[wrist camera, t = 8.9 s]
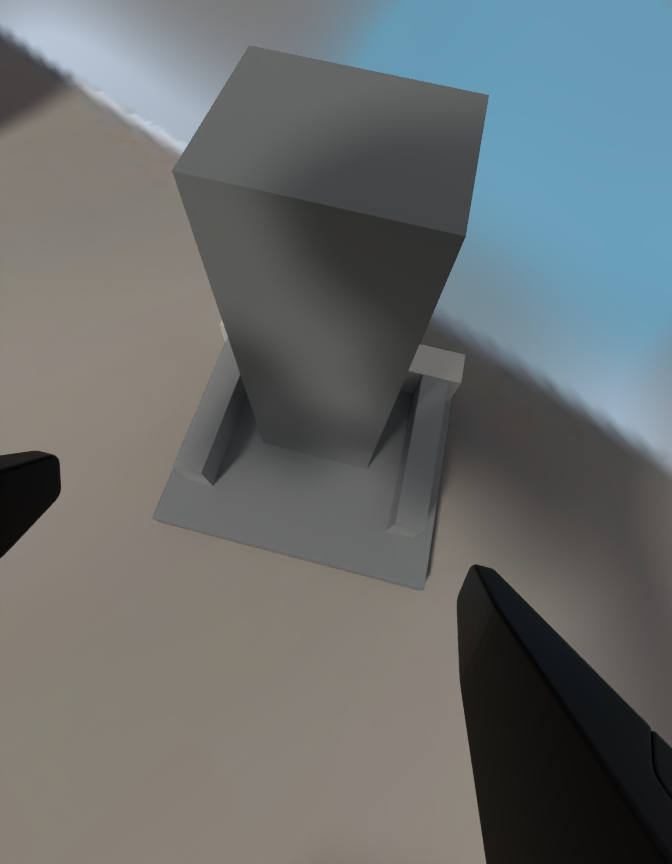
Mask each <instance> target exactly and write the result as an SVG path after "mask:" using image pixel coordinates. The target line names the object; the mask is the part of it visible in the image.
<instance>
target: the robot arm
mask: <svg viewBox="0 0 672 864" xmlns="http://www.w3.org/2000/svg"><path fill="white" fill-rule="evenodd" d="M60 491H61V479H60V463H59V459H58V458H57V457H56V456H55V455H53V454H49V453H45V452H41V451H29V452H21V453H14V454H7V455H0V558H1V557H2V556H3V555H4V554H5V553H6V552H7V551H8V550H9V549H10V548H11V547H12V546H13V545H14V544H15V543H16V542H17V541H18V540H19V539H20V538H21V537H22V536H23V535H24V534H25V533H26V531H27V530H28V529H29V528H30V527H31V526H32V525H33V524H34V523H35V522H36V521H37V520H38V519H39V518H40V517H41V516H42V515H43V513H44V512H45V511H46V510H47V509H48V508H49V507H50V506H51V505H52V504H53V503H54V502H55V501H56V499H57V498H58V496H59V494H60ZM457 625H458V652H459V674H460V685H461V694H462V700H463V707H464V714H465V721H466V728H467V735H468V741H469V748H470V755H471V762H472V769H473V775H474V782H475V789H476V796H477V803H478V810H479V816H480V823H481V830H482V837H483V844H484V851H485V857H486V864H672V748H671V747H670V746H669V745H668V744H667V743H666V742H665V741H664V740H663V739H662V738H661V737H660V736H659V735H658V734H657V733H656V732H654V731H651V728H650V726H649V725H648V724H647V723H646V722H645V721H644V720H643V719H642V718H641V717H640V716H639V715H638V714H637V713H636V712H635V711H634V710H633V709H632V708H631V707H630V706H629V705H628V704H627V703H626V702H625V701H624V700H623V699H622V698H621V697H620V696H619V695H618V694H617V693H616V692H615V691H614V690H613V689H612V688H611V687H610V686H609V685H608V684H607V683H606V682H605V681H604V680H603V679H602V678H601V677H600V676H599V675H598V674H597V673H596V672H595V671H594V670H593V669H592V668H591V667H590V666H589V664H588V663H587V662H586V661H585V660H584V659H583V658H582V657H581V656H580V655H579V654H578V653H577V652H576V651H575V650H574V649H573V648H572V647H571V646H570V645H569V644H568V643H567V642H566V641H565V640H564V639H563V638H562V637H561V636H560V635H559V634H558V633H557V632H556V631H555V630H554V629H553V628H552V627H551V626H550V625H549V624H548V623H547V622H546V621H545V620H544V619H543V618H542V617H541V616H540V615H539V614H538V613H537V612H536V611H535V610H534V609H533V608H532V607H531V606H530V605H529V604H528V603H527V602H526V601H525V600H524V599H523V598H522V597H521V596H520V595H519V594H518V593H517V592H516V591H515V590H514V589H513V588H512V587H511V586H510V585H509V584H508V583H507V582H506V581H505V580H504V579H503V578H502V577H501V576H500V575H499V574H498V573H497V572H496V571H495V570H494V569H492V568H488V567H484V566H480V565H476V564H475V565H473V566H471V568H470V569H469V571H468V573H467V576H466V578H465V580H464V583H463V585H462V587H461V590H460V592H459V595H458V599H457Z"/></svg>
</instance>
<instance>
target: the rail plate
mask: <svg viewBox="0 0 672 864" xmlns="http://www.w3.org/2000/svg"><path fill="white" fill-rule="evenodd" d="M219 326H220V329H221V332H222V335H223V337H224V340H225V345H224V347H223V349H222V352H221V354H220V356H219V359H218V361H217V363H216V366H215V368H214V371H213V373H212V375H211V378H210V380H209V382H208V385H207V387H206V389H205V392H204V394H203V396H202V399H201V401H200V403H199V406H198V408H197V410H196V413H195V415H194V417H193V420H192V422H191V424H190V427H189V429H188V432H187V434H186V436H185V439H184V441H183V443H182V446H181V448H180V450H179V453H178V455H177V457H176V460H175V462H174V464H173V467H174V468H173V470H172V473H171V475H170V477H169V480H168V482H167V484H166V487H165V489H164V491H163V494H162V496H161V498H160V501H159V503H158V506H157V508H156V510H155V513H154V515H153V517H152V519H154V520H157V521H159V522H163V523H166V524H170V525H174V526H178V527H181V528H185V529H189V530H193V531H197V532H200V533H204V534H208V535H212V536H216V537H219V538H223V539H227V540H231V541H235V542H238V543H242V544H246V545H250V546H254V547H257V548H261V549H265V550H269V551H272V552H276V553H280V554H284V555H288V556H291V557H295V558H299V559H303V560H307V561H310V562H314V563H318V564H322V565H326V566H329V567H333V568H337V569H341V570H345V571H348V572H352V573H356V574H360V575H363V576H367V577H371V578H375V579H379V580H382V581H386V582H390V583H394V584H398V585H401V586H405V587H409V588H413V589H417V590H424V587H425V580H426V573H427V567H428V560H429V553H430V546H431V540H432V533H433V526H434V519H435V513H436V506H437V499H438V492H439V486H440V479H441V472H442V465H443V459H444V452H445V445H446V438H447V432H448V425H449V418H450V411H451V405H452V398H453V395H454V393H455V392H456V390H457V389H458V388H459V386H460V385H461V383H462V376H463V369H464V362H465V355H464V354H460V353H456V352H452V351H448V350H443V349H439V348H435V347H431V346H426V345H422V344H420V345H419V347H418V349H417V352H416V354H415V356H414V359H413V361H412V363H411V366H410V368H409V370H408V373H407V375H406V377H405V380H404V382H403V384H402V387H401V389H400V391H399V394H398V396H397V399H396V401H395V403H394V406H393V408H392V410H391V413H390V415H389V417H388V420H387V422H386V424H385V427H384V429H383V431H382V434H381V436H380V438H379V441H378V443H377V446H376V448H375V450H374V453H373V455H372V457H371V460H370V462H369V464H368V467H367V469H364V468H360V467H356V466H352V465H348V464H345V463H341V462H337V461H333V460H329V459H325V458H321V457H317V456H313V455H309V454H305V453H301V452H297V451H293V450H289V449H285V448H281V447H277V446H273V445H269V444H265V443H263V440H262V437H261V434H260V431H259V428H258V425H257V422H256V419H255V417H254V414H253V411H252V408H251V405H250V402H249V399H248V396H247V393H246V390H245V387H244V384H243V381H242V378H241V375H240V372H239V369H238V366H237V363H236V360H235V357H234V354H233V351H232V348H231V345H230V342H229V339H228V336H227V333H226V330H225V327H224V324H223V321H222V320H221V323H220V325H219Z"/></svg>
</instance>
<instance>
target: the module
mask: <svg viewBox="0 0 672 864" xmlns="http://www.w3.org/2000/svg"><path fill="white" fill-rule="evenodd" d="M488 97H489V95H485V94H481V93H476V92H471V91H466V90H461V89H457V88H452V87H447V86H442V85H437V84H432V83H428V82H423V81H417V80H413V79H408V78H404V77H398V76H394V75H389V74H384V73H379V72H374V71H370V70H365V69H360V68H355V67H351V66H346V65H340V64H336V63H331V62H326V61H322V60H317V59H312V58H307V57H302V56H298V55H292V54H288V53H283V52H278V51H273V50H268V49H264V48H259V47H254V46H249V47H248V48H247V50H246V52H245V53H244V55H243V56H242V58H241V60H240V61H239V63H238V65H237V66H236V68H235V70H234V71H233V73H232V74H231V76H230V78H229V79H228V81H227V82H226V84H225V86H224V87H223V89H222V91H221V92H220V94H219V96H218V97H217V99H216V100H215V102H214V104H213V105H212V107H211V109H210V110H209V112H208V113H207V115H206V117H205V118H204V120H203V122H202V123H201V125H200V126H199V128H198V130H197V131H196V133H195V135H194V136H193V138H192V139H191V141H190V143H189V144H188V146H187V147H186V149H185V151H184V152H183V154H182V156H181V157H180V159H179V160H178V162H177V164H176V165H175V167H174V169H173V170H172V172H173V175H174V178H175V181H176V184H177V187H178V190H179V192H180V195H181V198H182V201H183V204H184V207H185V210H186V213H187V216H188V219H189V222H190V225H191V228H192V231H193V234H194V237H195V240H196V243H197V246H198V249H199V252H200V255H201V258H202V261H203V264H204V267H205V270H206V273H207V276H208V279H209V282H210V285H211V288H212V291H213V294H214V297H215V300H216V303H217V306H218V309H219V312H220V315H221V318H222V321H223V324H224V327H225V330H226V333H227V336H228V339H229V342H230V345H231V348H232V351H233V354H234V357H235V360H236V363H237V366H238V369H239V372H240V375H241V378H242V381H243V384H244V387H245V390H246V393H247V396H248V399H249V402H250V405H251V408H252V411H253V414H254V417H255V419H256V422H257V425H258V428H259V431H260V434H261V437H262V440H263V443H265V444H269V445H273V446H277V447H281V448H285V449H289V450H293V451H297V452H301V453H305V454H309V455H313V456H317V457H321V458H325V459H329V460H333V461H337V462H341V463H345V464H348V465H352V466H356V467H360V468H364V469H367V467H368V464H369V462H370V460H371V457H372V455H373V453H374V450H375V448H376V446H377V443H378V441H379V438H380V436H381V434H382V431H383V429H384V427H385V424H386V422H387V420H388V417H389V415H390V413H391V410H392V408H393V406H394V403H395V401H396V399H397V396H398V394H399V391H400V389H401V387H402V384H403V382H404V380H405V377H406V375H407V373H408V370H409V368H410V366H411V363H412V361H413V359H414V356H415V354H416V352H417V349H418V347H419V345H420V342H421V340H422V337H423V335H424V333H425V330H426V328H427V326H428V323H429V321H430V319H431V316H432V314H433V312H434V309H435V307H436V305H437V302H438V300H439V298H440V295H441V293H442V290H443V288H444V286H445V283H446V281H447V279H448V276H449V274H450V272H451V269H452V267H453V264H454V262H455V260H456V258H457V255H458V253H459V251H460V248H461V246H462V243H463V241H464V239H465V236H466V231H467V224H468V218H469V212H470V206H471V200H472V194H473V188H474V181H475V176H476V170H477V164H478V158H479V151H480V145H481V139H482V133H483V127H484V121H485V115H486V109H487V103H488Z"/></svg>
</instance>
